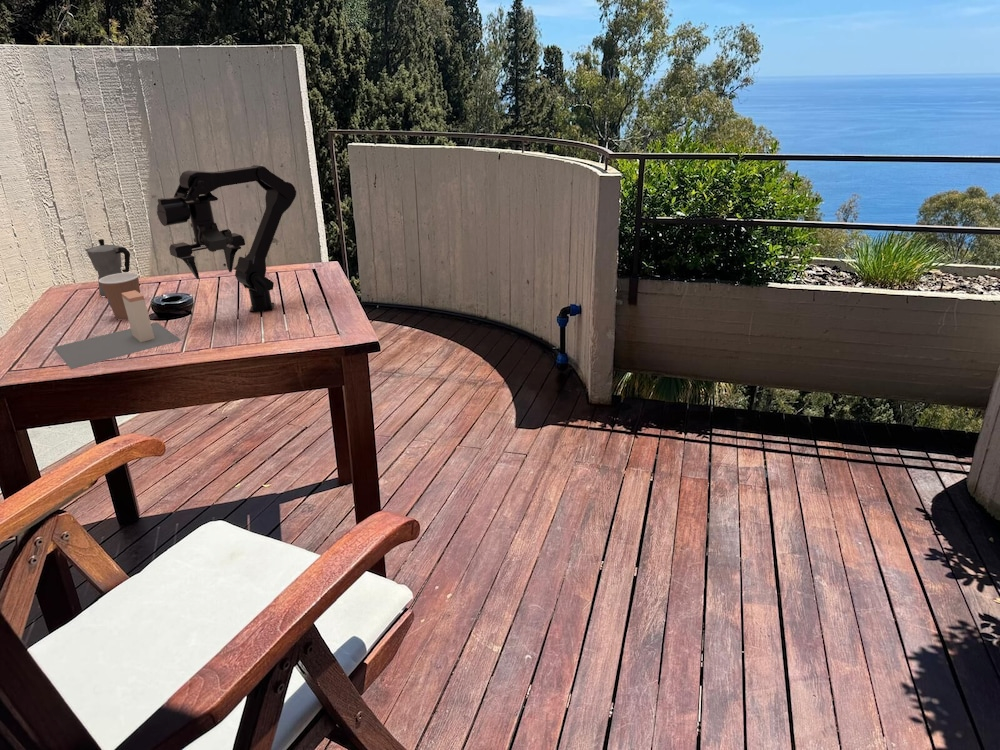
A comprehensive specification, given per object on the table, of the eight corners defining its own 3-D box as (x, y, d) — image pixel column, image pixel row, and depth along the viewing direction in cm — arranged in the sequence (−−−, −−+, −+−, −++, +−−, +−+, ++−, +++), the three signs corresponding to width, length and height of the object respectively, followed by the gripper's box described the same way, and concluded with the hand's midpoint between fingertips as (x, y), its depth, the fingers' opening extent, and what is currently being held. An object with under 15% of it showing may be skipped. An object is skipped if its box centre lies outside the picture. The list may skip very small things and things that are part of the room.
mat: (157, 323, 191) (156, 322, 191) (181, 341, 177) (181, 340, 177) (53, 348, 175) (52, 347, 175) (71, 370, 161) (70, 369, 161)
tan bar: (146, 332, 183) (135, 290, 178) (154, 338, 179) (143, 295, 174) (132, 335, 181) (121, 293, 176) (140, 342, 176) (129, 298, 171)
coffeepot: (87, 297, 215) (71, 242, 208) (108, 289, 224) (93, 235, 216) (130, 299, 213) (115, 243, 205) (149, 290, 221) (135, 236, 214)
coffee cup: (126, 310, 202) (116, 271, 197) (156, 311, 200) (146, 272, 195) (101, 322, 193) (90, 282, 188) (132, 323, 191) (121, 283, 186)
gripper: (178, 229, 169) (191, 288, 176) (248, 217, 181) (258, 273, 187) (162, 223, 177) (176, 280, 183) (231, 212, 188) (241, 266, 195)
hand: (214, 275), depth 187 cm, fingers open, 9 cm apart
